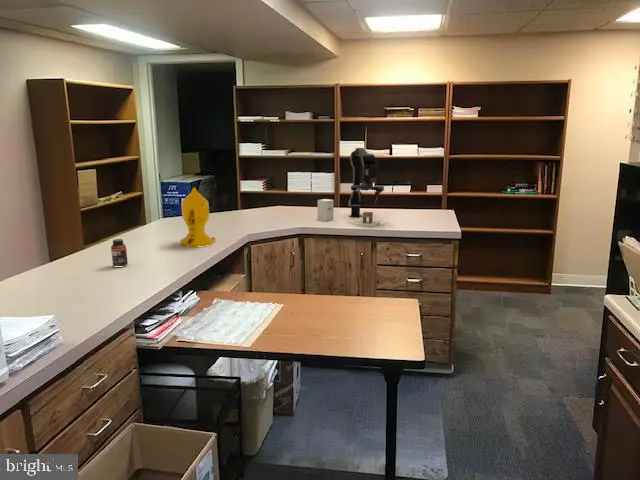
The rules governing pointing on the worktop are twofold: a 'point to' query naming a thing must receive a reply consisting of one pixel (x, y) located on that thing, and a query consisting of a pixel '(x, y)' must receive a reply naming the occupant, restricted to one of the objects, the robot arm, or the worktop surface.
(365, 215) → the toy stool
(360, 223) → the sage mat
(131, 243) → the worktop surface
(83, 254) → the worktop surface
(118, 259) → the supplement bottle
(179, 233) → the worktop surface
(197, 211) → the yellow pointed sculpture
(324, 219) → the supplement box
